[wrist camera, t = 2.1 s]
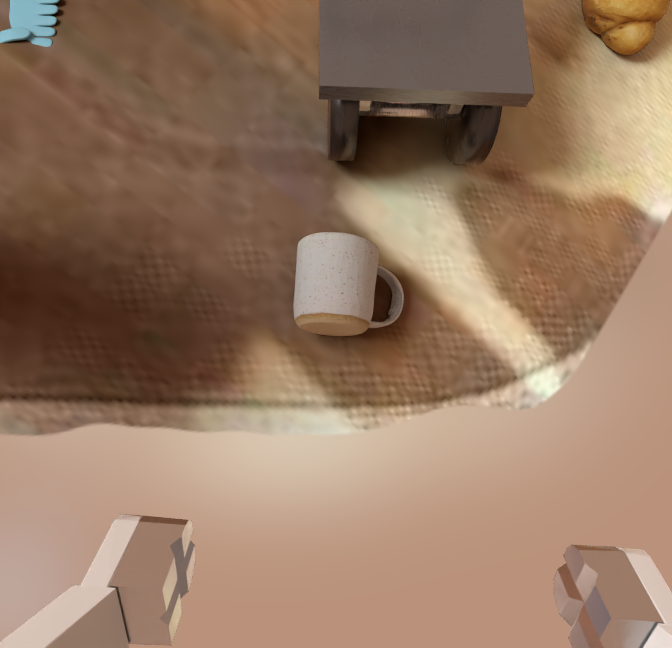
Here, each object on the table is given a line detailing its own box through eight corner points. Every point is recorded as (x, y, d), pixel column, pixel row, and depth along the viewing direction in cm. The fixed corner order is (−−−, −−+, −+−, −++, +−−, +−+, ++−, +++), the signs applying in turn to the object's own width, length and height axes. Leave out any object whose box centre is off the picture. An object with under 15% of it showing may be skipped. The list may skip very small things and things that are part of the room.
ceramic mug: (291, 336, 48) (291, 316, 40) (297, 258, 50) (298, 224, 42) (399, 344, 48) (418, 325, 41) (401, 266, 50) (419, 234, 43)
